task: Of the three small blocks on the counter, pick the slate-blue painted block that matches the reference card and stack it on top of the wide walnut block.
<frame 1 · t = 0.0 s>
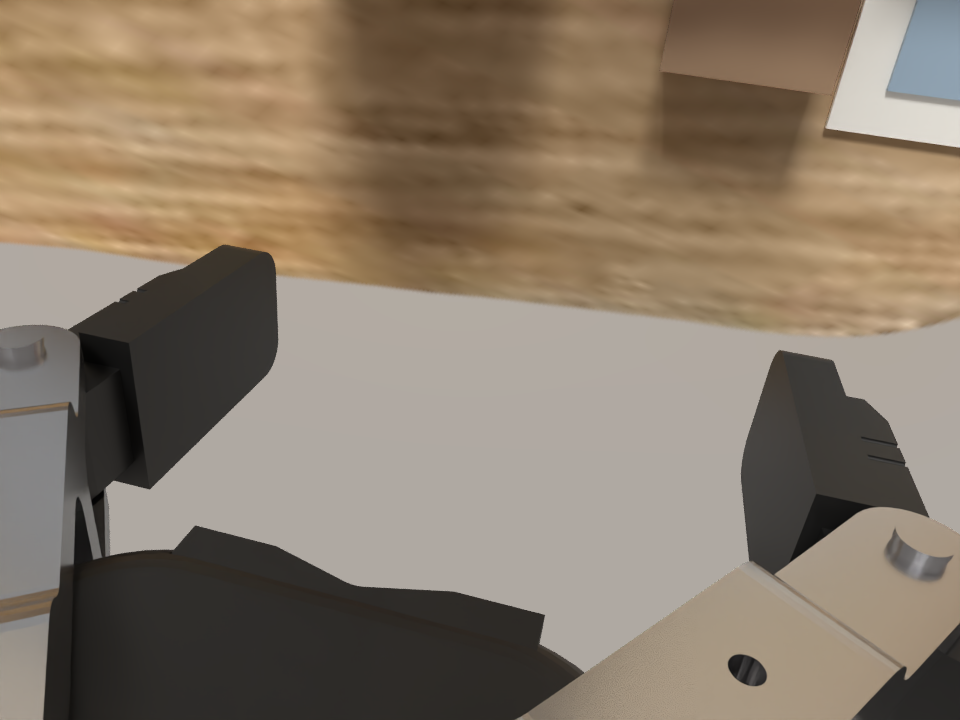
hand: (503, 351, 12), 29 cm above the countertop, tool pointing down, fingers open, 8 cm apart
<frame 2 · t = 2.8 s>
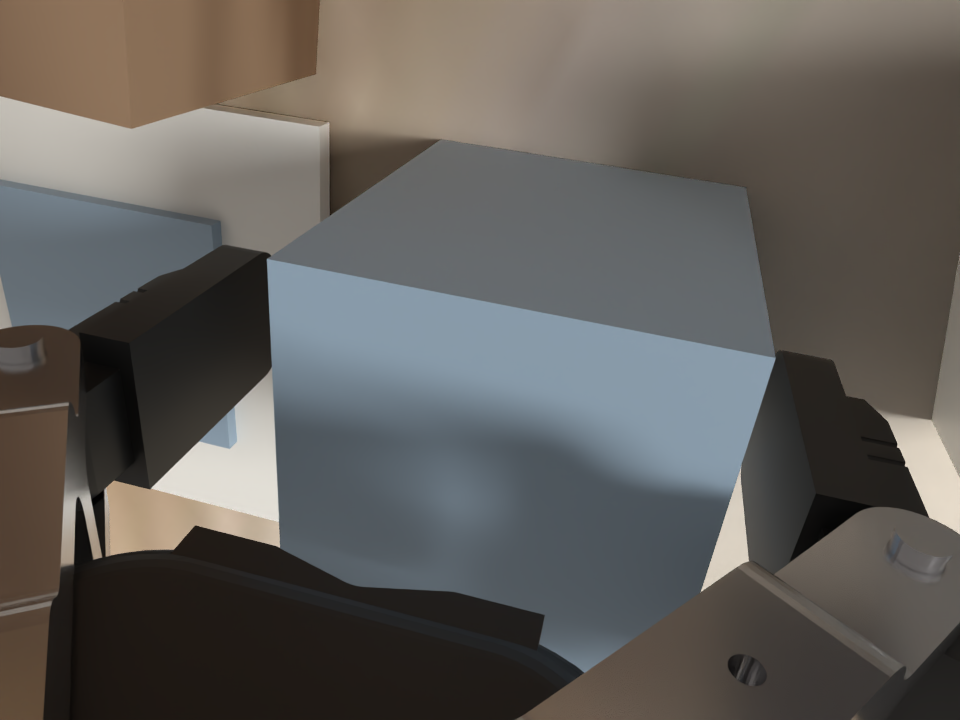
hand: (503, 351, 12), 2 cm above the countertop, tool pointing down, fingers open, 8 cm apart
slate block: (565, 301, 14), on the countertop
reference card: (132, 308, 16), on the countertop
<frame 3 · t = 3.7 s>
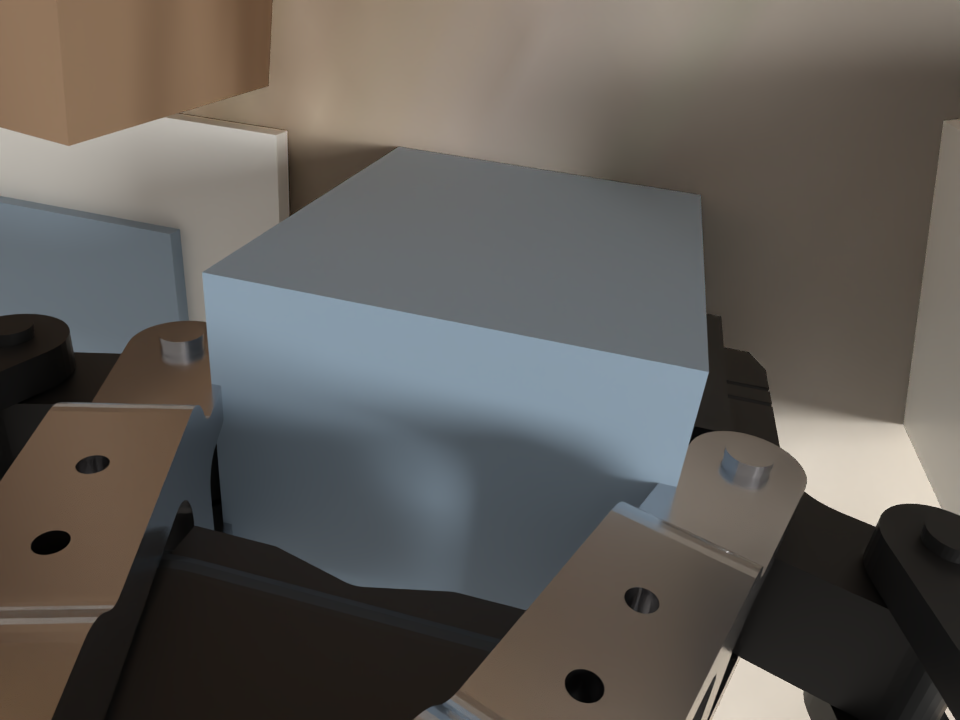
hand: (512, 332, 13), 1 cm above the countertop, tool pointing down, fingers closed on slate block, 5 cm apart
slate block: (525, 309, 14), on the countertop, touching gripper
reference card: (94, 317, 16), on the countertop
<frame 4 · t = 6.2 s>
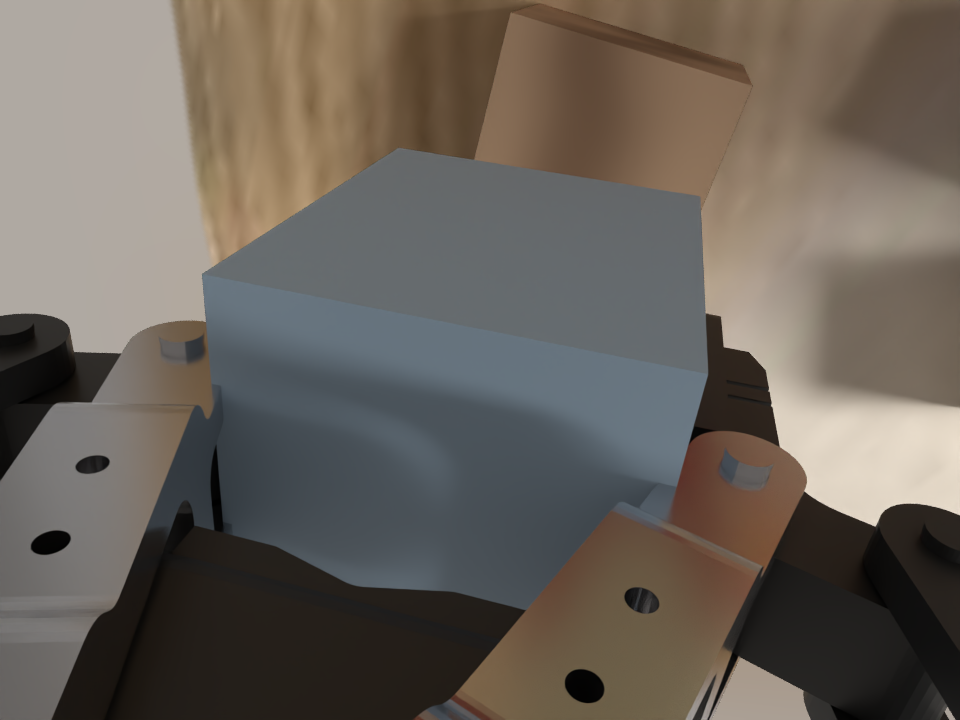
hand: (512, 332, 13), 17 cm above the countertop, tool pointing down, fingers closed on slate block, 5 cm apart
slate block: (525, 309, 14), point 16 cm above the countertop, touching gripper
walnut base: (606, 136, 27), on the countertop
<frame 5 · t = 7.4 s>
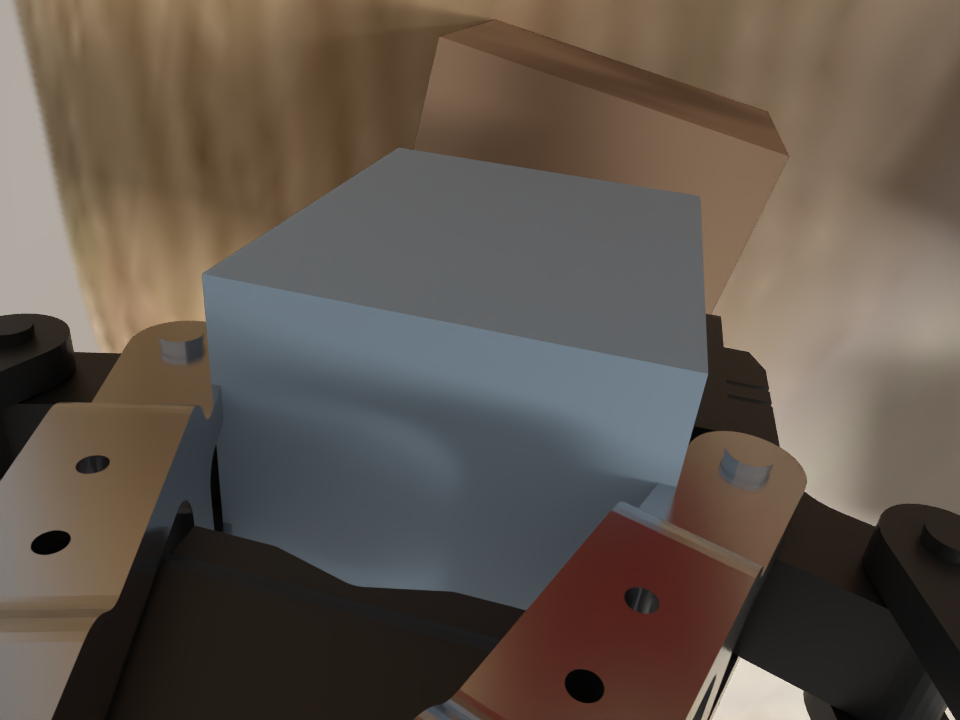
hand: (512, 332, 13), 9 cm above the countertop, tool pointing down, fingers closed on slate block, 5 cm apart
slate block: (525, 309, 14), point 8 cm above the countertop, touching gripper
walnut base: (582, 196, 21), on the countertop
when the fingers open (7 cm above the countertop, at t = 8.6 s): slate block drops 2 cm, resting on walnut base.
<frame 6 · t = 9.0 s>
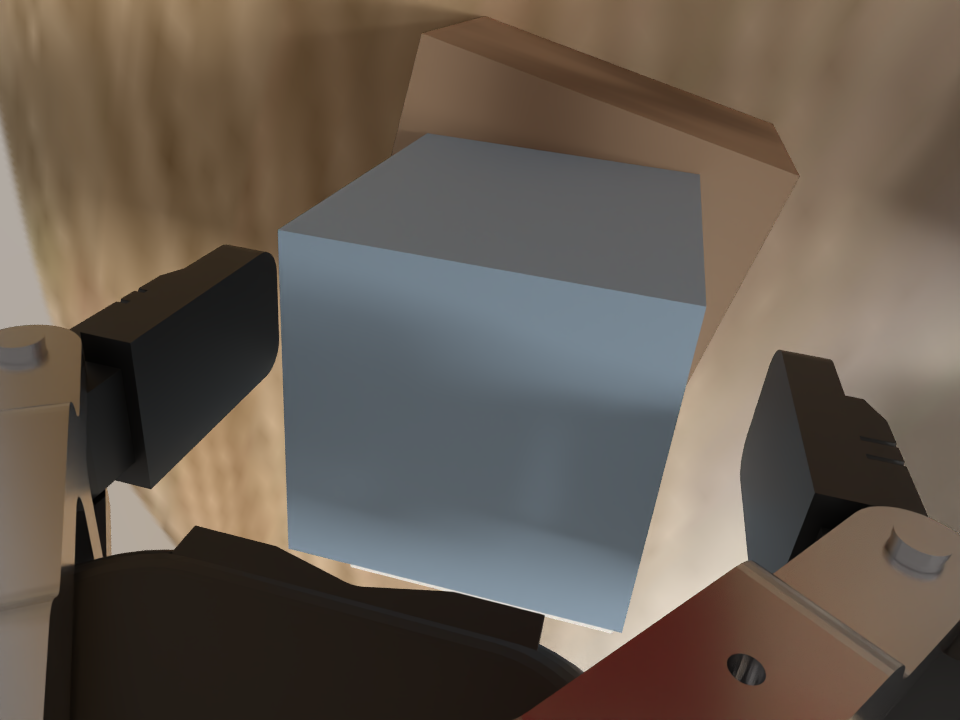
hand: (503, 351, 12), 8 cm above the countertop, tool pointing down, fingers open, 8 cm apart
slate block: (541, 280, 15), point 5 cm above the countertop, touching walnut base
reference card: (494, 485, 24), on the countertop
walnut base: (573, 207, 19), on the countertop, touching slate block
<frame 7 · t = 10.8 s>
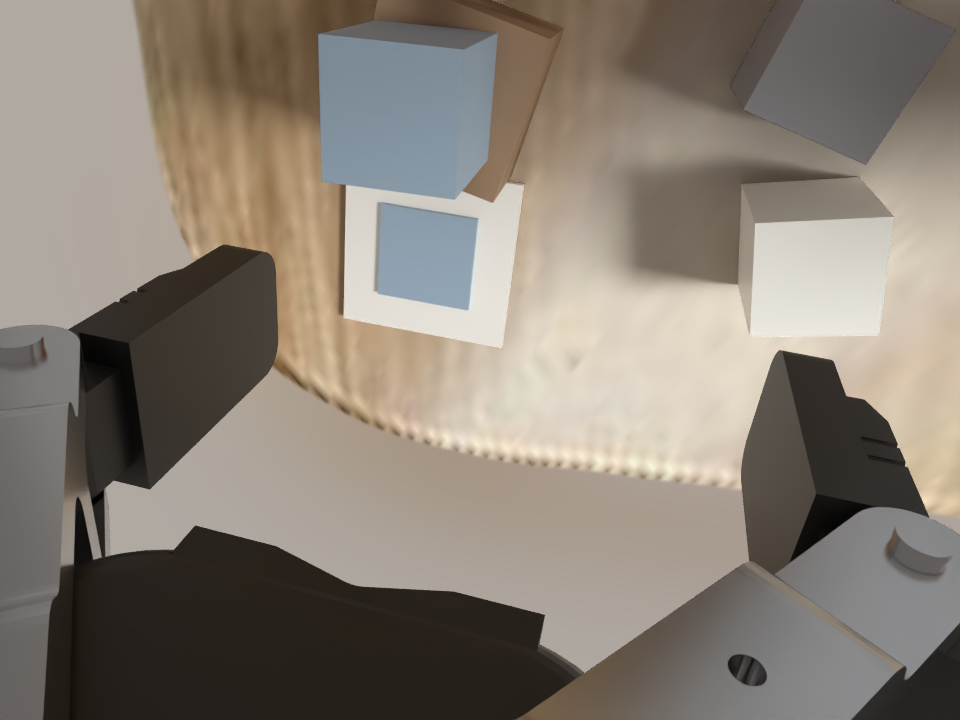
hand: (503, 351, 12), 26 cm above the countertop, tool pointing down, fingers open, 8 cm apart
grey block: (814, 52, 32), on the countertop
white block: (795, 233, 36), on the countertop
slate block: (433, 92, 32), point 5 cm above the countertop, touching walnut base
reference card: (429, 253, 40), on the countertop
walnut base: (467, 77, 36), on the countertop, touching slate block
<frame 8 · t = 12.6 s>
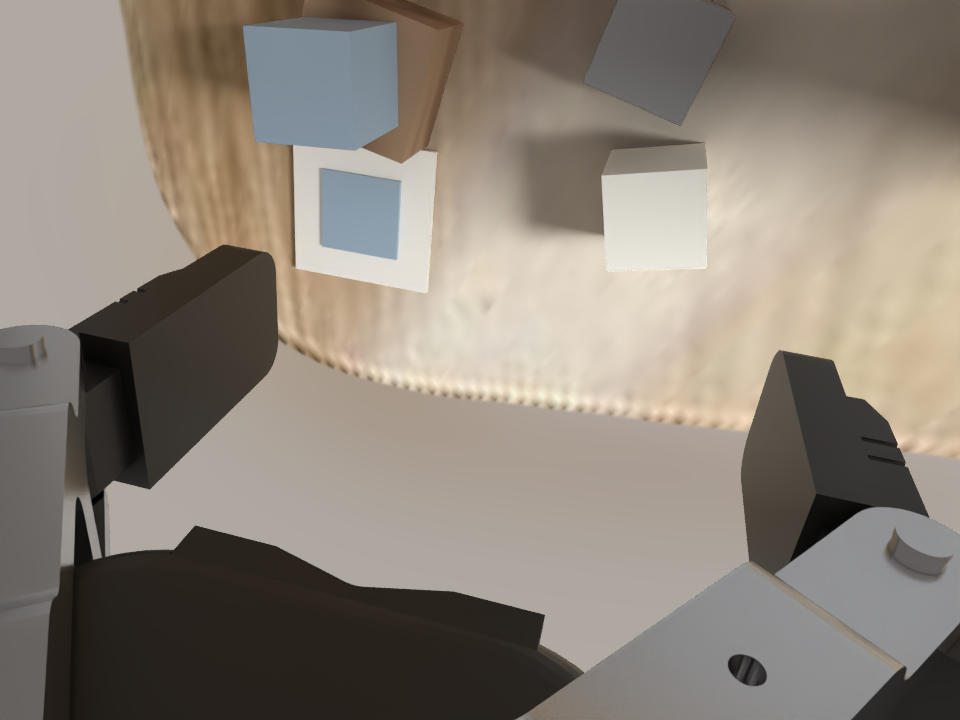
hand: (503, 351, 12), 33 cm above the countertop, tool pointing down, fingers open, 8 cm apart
grey block: (660, 39, 40), on the countertop
white block: (658, 191, 43), on the countertop
slate block: (351, 72, 39), point 5 cm above the countertop, touching walnut base
reference card: (363, 212, 48), on the countertop
walnut base: (389, 63, 44), on the countertop, touching slate block
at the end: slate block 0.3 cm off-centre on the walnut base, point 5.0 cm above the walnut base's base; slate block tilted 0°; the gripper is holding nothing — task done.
